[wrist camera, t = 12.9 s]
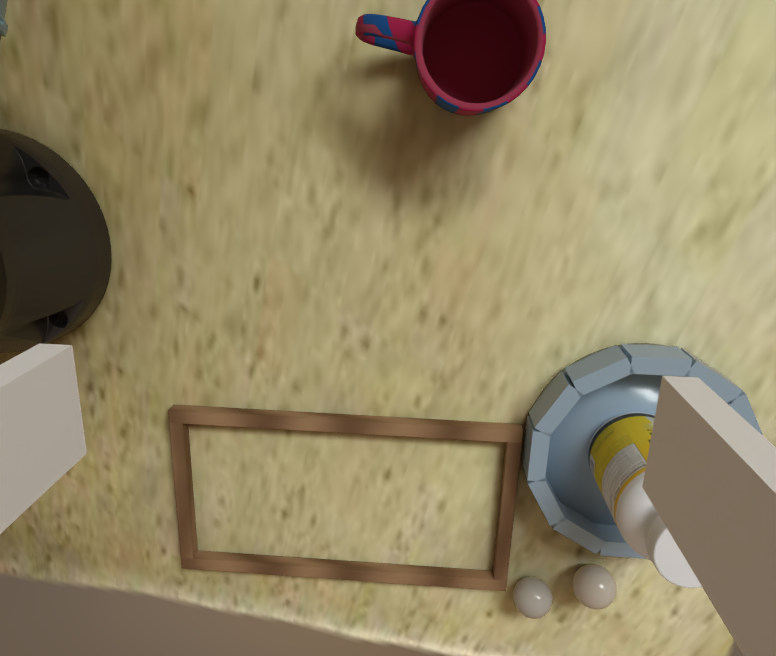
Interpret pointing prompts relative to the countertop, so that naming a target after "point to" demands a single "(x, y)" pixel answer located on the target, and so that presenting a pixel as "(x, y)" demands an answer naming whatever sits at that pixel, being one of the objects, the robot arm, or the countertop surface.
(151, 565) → the countertop surface
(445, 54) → the mug
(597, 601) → the pebble
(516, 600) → the glossy pale sphere
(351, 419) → the open rectangular frame
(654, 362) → the bowl
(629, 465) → the pill bottle
